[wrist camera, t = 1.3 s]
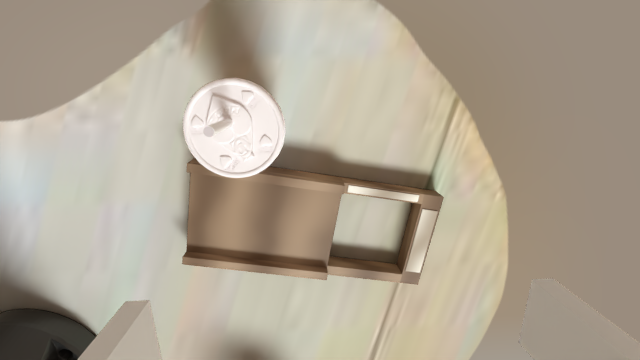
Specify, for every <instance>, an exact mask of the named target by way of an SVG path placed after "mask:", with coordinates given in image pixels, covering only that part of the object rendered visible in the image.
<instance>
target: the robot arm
mask: <svg viewBox="0 0 640 360" xmlns="http://www.w3.org/2000/svg"><path fill="white" fill-rule="evenodd" d="M519 343H520V344H521V345H522V346H523V348H524V349H525V350H526V351H527V352H528V354H529V355H530V356H531V357H532V358H533V359H534V360H640V343H639V342H638V341H636V340H635V339H633V338H632V337H631V336H630V335H628V334H627V333H625V332H624V331H623V330H621V329H620V328H619V327H617V326H616V325H615V324H613V323H612V322H611V321H609V320H608V319H607V318H605V317H604V316H603V315H601V314H600V313H599V312H597V311H596V310H595V309H593V308H592V307H591V306H589V305H588V304H586V303H585V302H584V301H582V300H581V299H580V298H579V297H577V296H576V295H575V294H573V293H572V292H570V291H569V290H568V289H566V288H565V287H564V286H562V285H561V284H560V283H558V282H557V281H556V280H554V279H553V278H550V279H532V282H531V287H530V291H529V296H528V301H527V305H526V310H525V315H524V320H523V324H522V329H521V334H520V339H519ZM0 360H162V357H161V352H160V347H159V343H158V338H157V333H156V329H155V324H154V319H153V315H152V310H151V305H150V300H146V301H127V302H125V303H124V304H123V305H122V306H121V308H120V309H119V310H118V311H117V312H116V314H115V315H114V316H113V317H112V318H111V320H110V321H109V322H108V323H107V324H106V326H105V327H104V328H103V329H102V330H101V332H100V333H99V334H98V335H97V336H96V337H95V336H94V335H93V334H92V333H91V332H89V331H88V330H87V329H86V328H84V327H83V326H81V325H80V324H78V323H76V322H75V321H73V320H71V319H69V318H66V317H64V316H61V315H58V314H55V313H51V312H47V311H42V310H33V309H20V310H11V311H6V312H2V313H0Z"/></svg>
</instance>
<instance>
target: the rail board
mask: <svg viewBox="0 0 640 360" xmlns="http://www.w3.org/2000/svg"><path fill="white" fill-rule="evenodd" d="M187 172H189V173H191V174H190V194H189V213H188V233H187V252H186V253H185V254H184V256H183V261H182V264H185V265H194V266H203V267H212V268H221V269H230V270H239V271H248V272H257V273H266V274H276V275H285V276H294V277H303V278H312V279H321V280H327V275H337V276H346V277H354V278H363V279H372V280H381V281H390V282H399V283H408V284H417V285H418V282H419V279H420V275H421V272H422V269H423V265H424V262H425V259H426V255H427V252H428V248H429V245H430V242H431V238H432V235H433V232H434V228H435V225H436V221H437V218H438V215H439V211H440V208H441V205H442V201H443V198H444V197H443V196H441V195H440V194H439V193H437V192H436V191H434V190H427V189H420V188H413V187H406V186H399V185H393V184H386V183H379V182H372V181H365V180H358V179H352V178H345V177H338V176H331V175H324V174H317V173H311V172H304V171H297V170H290V169H283V168H277V167H270V166H268V167H267V168H266V169H264V170H263V171H261V172H259V173H257V174H255V175H252V176H249V177H244V178H230V177H225V176H221V175H218V174H216V173H214V172H212V171H210V170H208V169H207V168H205V167H204V166H203V165H202V164H200V163H199V162H198V161H197V159H196V158H195V159H193V160H192V161H190V162H188V163H187ZM344 193H347V194H354V195H362V196H369V197H376V198H383V199H390V200H397V201H404V202H411V203H413V204H412V208H411V211H410V215H409V219H408V222H407V226H406V230H405V234H404V237H403V241H402V245H401V249H400V252H399V256H398V260H397V263H396V264H392V263H384V262H376V261H367V260H359V259H350V258H342V257H333V256H329V255H330V250H331V245H332V240H333V235H334V230H335V225H336V220H337V215H338V210H339V204H340V199H341V194H344Z"/></svg>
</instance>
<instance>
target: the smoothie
mask: <svg viewBox="0 0 640 360" xmlns="http://www.w3.org/2000/svg"><path fill="white" fill-rule="evenodd" d="M183 132H184V137H185V140H186V143H187V145H188V148H189V149H190V151H191V153H192V154H193V156H194V157H195V158H196V159H197V161H198V162H199V163H200V164H202V165H203V166H204V167H205V168H207V169H208V170H210V171H212V172H214V173H216V174H218V175H221V176H225V177H230V178H244V177H249V176H252V175H255V174H257V173H259V172H261V171H263V170H264V169H266V168H267V167H268V166H269V165H270V164H271V163H272V162H273V161H274V160H275V159H276V157H277V156H278V155H279V153H280V151H281V149H282V147H283V144H284V139H285V133H286V131H285V120H284V117H283V114H282V111H281V108H280V106H279V105H278V103H277V102H276V100H275V99H274V97H273V96H272V95H271V94H270V93H269V92H267V91H266V90H265V89H264V88H263V87H261V86H260V85H258V84H256V83H254V82H252V81H249V80H245V79H240V78H223V79H218V80H215V81H212V82H210V83H207V84H206V85H204V86H202V87H201V88H200V89H199V90H198V91H196V92H195V94H194V95H193V96H192V97H191V99H190V100H189V102H188V104H187V106H186V109H185V112H184V117H183Z"/></svg>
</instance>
